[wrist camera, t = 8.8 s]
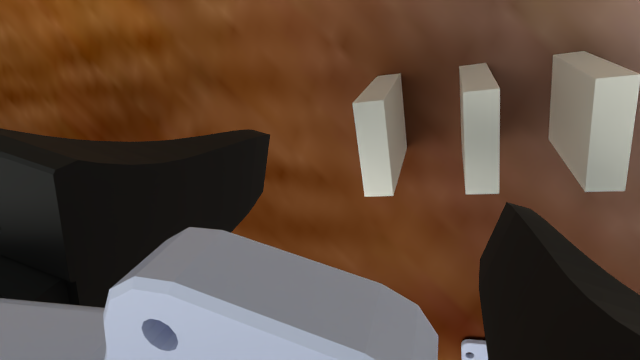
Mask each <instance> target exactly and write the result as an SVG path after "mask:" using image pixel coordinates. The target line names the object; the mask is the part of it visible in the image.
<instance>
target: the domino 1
mask: <svg viewBox="0 0 640 360" xmlns="http://www.w3.org/2000/svg"><path fill="white" fill-rule="evenodd" d="M352 104H353V112H354V119H355V127H356V134H357V142H358V149H359V157H360V164H361V172H362V179H363V187H364V194H365V196H393V195H394V192H395V188H396V185H397V181H398V178H399V174H400V171H401V167H402V164H403V160H404V157H405V153H406V150H407V141H406V130H405V118H404V106H403V94H402V82H401V73H399V74H390V75H382V76H377V77H376V78H375V79H374V80H373V81H372V82H371V83H370V85H369V86H368V87H367V88H366V89H365V90H364V91H363V92H362V93H361V94H360V95H359V97H358V98H357V99H356V100H355V101H354V102H353V103H352Z"/></svg>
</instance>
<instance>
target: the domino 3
mask: <svg viewBox="0 0 640 360" xmlns="http://www.w3.org/2000/svg"><path fill="white" fill-rule="evenodd" d="M639 86H640V74H639V73H637V72H634V71H632V70H629V69H627V68H625V67H622V66H620V65H617V64H615V63H612V62H610V61H607V60H605V59H602V58H600V57H597V56H595V55H593V54H590V53H588V52H585V51H580V52H572V53H564V54H555V55H553V65H552V83H551V101H550V119H549V137H548V139H549V141H550V142H551V144H552V145H553V147H554V148H555V149H556V151H557V152H558V154H559V155H560V157H561V158H562V160H563V161H564V162H565V164H566V165H567V167H568V168H569V170H570V171H571V173H572V174H573V175H574V177H575V178H576V180H577V181H578V183H579V184H580V186H581V187H582V188H583V190H584V191H585V192H603V191H625V188H626V181H627V173H628V166H629V159H630V152H631V144H632V137H633V130H634V122H635V115H636V108H637V101H638V93H639Z"/></svg>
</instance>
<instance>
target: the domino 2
mask: <svg viewBox="0 0 640 360" xmlns="http://www.w3.org/2000/svg"><path fill="white" fill-rule="evenodd" d="M459 77H460V109H461V142H462V156H463V168H464V180H465V193H466V194H499V158H500V88H499V86H498V84H497V82H496V80H495V78H494V77H493V75H492V73H491V71H490V69H489V68H488V66H487V64H486V63H481V64H473V65H465V66H459Z"/></svg>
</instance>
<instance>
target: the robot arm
mask: <svg viewBox="0 0 640 360" xmlns="http://www.w3.org/2000/svg"><path fill="white" fill-rule="evenodd" d="M269 139H270V135H269V134H265V133H262V132H258V131H255V130H237V131H230V132H223V133H217V134H211V135H205V136H198V137H190V138H182V139H175V140H165V141H147V142H112V141H89V140H76V139H67V138H58V137H50V136H42V135H36V134H30V133H24V132H18V131H12V130H6V129H0V360H437V359H438V335H437V333H436V332H435V330H434V329H433V327H432V326H431V324H430V323H429V321H428V320H427V318H426V317H425V315H424V314H423V312H422V311H421V309H420V307H419V306H418V305H417V304H415V303H413V302H412V301H410V300H408V299H407V298H405V297H403V296H401V295H400V294H398V293H396V292H395V291H393V290H391V289H389V288H388V287H386V286H384V285H383V284H381V283H378V282H375V281H372V280H369V279H366V278H363V277H360V276H357V275H354V274H351V273H348V272H345V271H342V270H339V269H336V268H333V267H330V266H327V265H324V264H321V263H319V262H316V261H313V260H310V259H307V258H304V257H301V256H298V255H295V254H292V253H289V252H286V251H283V250H280V249H277V248H274V247H271V246H268V245H265V244H262V243H259V242H256V241H254V240H251V239H248V238H245V237H242V236H239V235H236V234H233V233H231V232H232V231H233V230H234V228H235V227H236V226H237V225H238V224H239V223H240V222H241V221H242V220H243V219H244V218H245V216H246V215H247V214H248V213H249V212H250V210H251V209H252V207H253V206H254V204H255V203H256V201H257V200H258V198H259V197H260V195H261V194H262V192H263V187H264V179H265V171H266V163H267V155H268V147H269ZM479 292H480V301H481V309H482V316H483V324H484V331H485V339H486V341H483V340H472V339H466V340H463V341H462V343H461V353H462V360H640V295H638V294H637V293H635V292H634V291H633V290H631V289H630V288H628V287H627V286H625V285H624V284H622V283H621V282H619V281H618V280H617V279H615V278H614V277H613V276H611V275H610V274H609V273H607V272H606V271H605V270H603V269H602V268H601V267H600V266H598V265H597V264H596V263H595V262H593V261H592V260H591V259H590V258H588V257H587V256H586V255H585V254H584V253H582V252H581V251H580V250H579V249H578V248H576V247H575V246H574V245H573V244H572V243H571V242H569V241H568V240H567V239H566V238H565V237H564V236H563V235H562V234H560V233H559V232H558V231H557V230H556V229H555V228H554V227H552V226H551V225H550V224H549V223H548V222H547V221H546V220H544V219H543V218H542V217H541V216H539V215H538V214H537V213H535V212H534V211H532V210H531V209H529V208H525V207H522V206H518V205H515V204H511V203H508V202H507V203H506V205H505V207H504V209H503V211H502V213H501V215H500V218H499V220H498V222H497V224H496V226H495V228H494V231H493V233H492V235H491V237H490V239H489V241H488V243H487V246H486V248H485V250H484V252H483V254H482V256H481V258H480V272H479ZM467 352H471V354H469V353H467Z"/></svg>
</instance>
